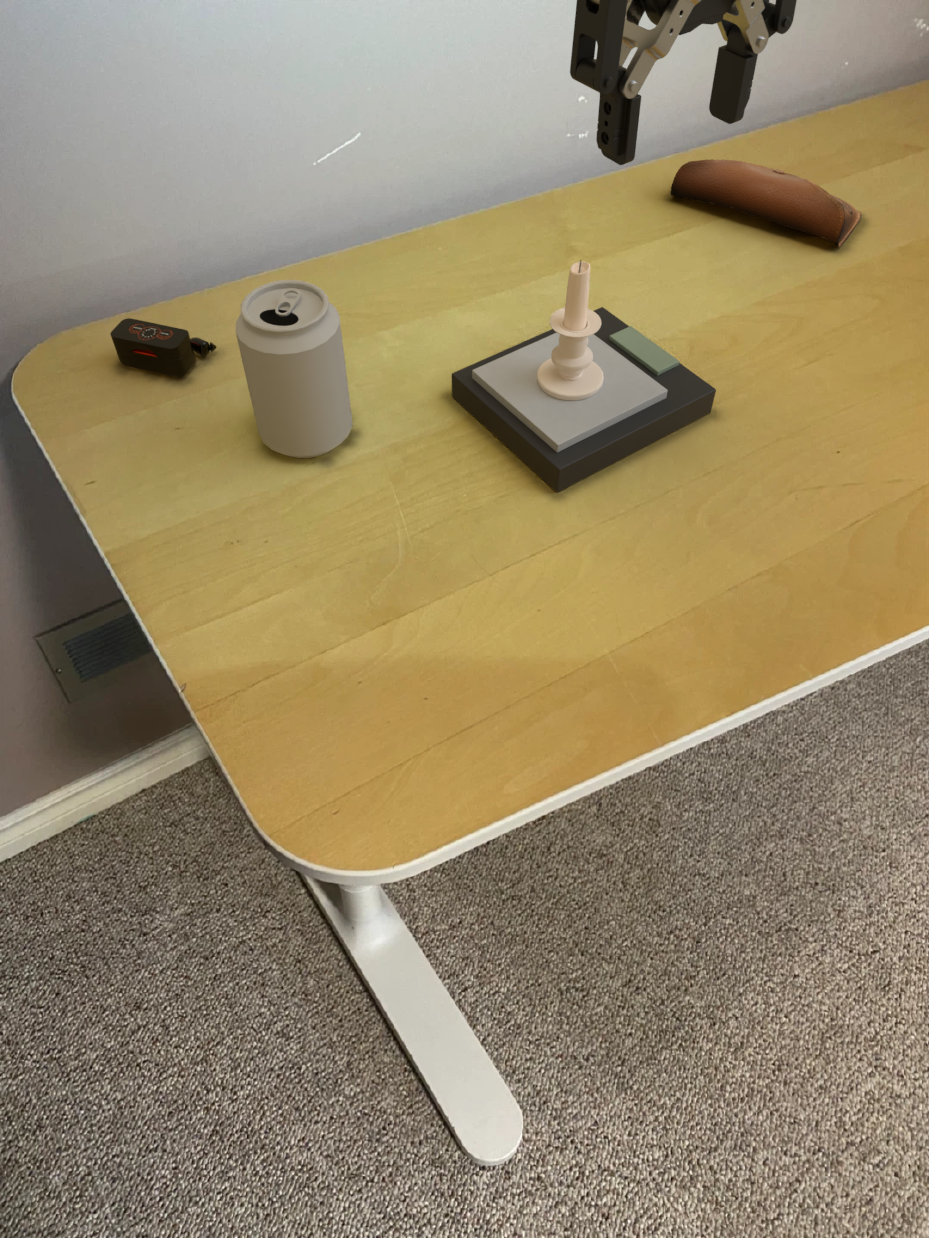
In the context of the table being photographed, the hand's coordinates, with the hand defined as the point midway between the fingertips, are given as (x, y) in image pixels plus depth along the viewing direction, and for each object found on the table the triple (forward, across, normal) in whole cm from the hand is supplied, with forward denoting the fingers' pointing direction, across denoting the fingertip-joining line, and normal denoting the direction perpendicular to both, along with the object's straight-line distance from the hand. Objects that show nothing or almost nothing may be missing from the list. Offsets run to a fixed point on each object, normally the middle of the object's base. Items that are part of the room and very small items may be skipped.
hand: (672, 138), depth 57 cm
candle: (+21, -1, +6) cm, 22 cm away
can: (+24, -20, +16) cm, 35 cm away
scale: (+24, 0, +7) cm, 25 cm away
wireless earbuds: (+23, -25, +32) cm, 46 cm away
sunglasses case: (+24, +35, +20) cm, 47 cm away
